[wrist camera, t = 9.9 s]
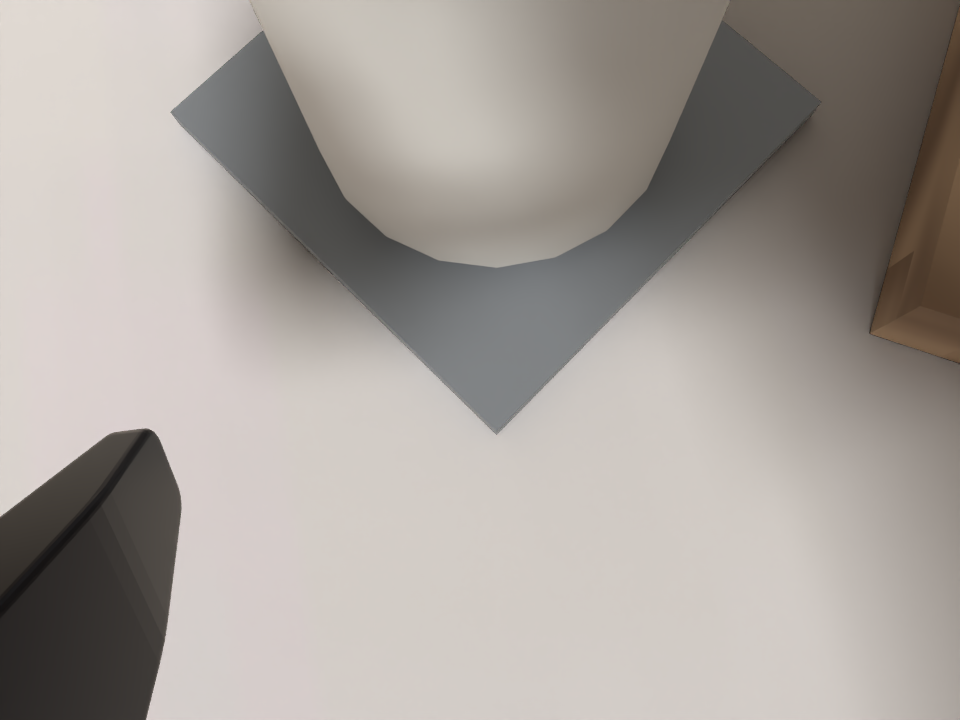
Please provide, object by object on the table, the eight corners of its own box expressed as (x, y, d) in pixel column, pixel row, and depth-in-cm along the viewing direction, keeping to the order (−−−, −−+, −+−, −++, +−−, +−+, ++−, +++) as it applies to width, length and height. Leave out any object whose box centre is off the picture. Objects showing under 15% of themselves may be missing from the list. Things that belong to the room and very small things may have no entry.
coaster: (496, 434, 18) (496, 431, 17) (180, 124, 19) (170, 112, 19) (811, 115, 19) (821, 102, 18) (490, -151, 20) (490, -171, 20)
